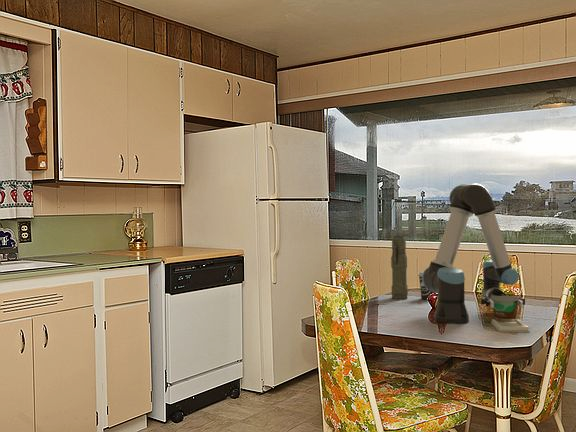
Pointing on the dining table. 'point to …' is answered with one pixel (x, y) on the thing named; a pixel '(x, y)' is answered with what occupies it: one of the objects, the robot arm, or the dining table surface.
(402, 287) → the olive brown statue
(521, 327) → the cream rectangular tray
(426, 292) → the coffee cup
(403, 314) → the dining table surface
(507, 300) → the food container
